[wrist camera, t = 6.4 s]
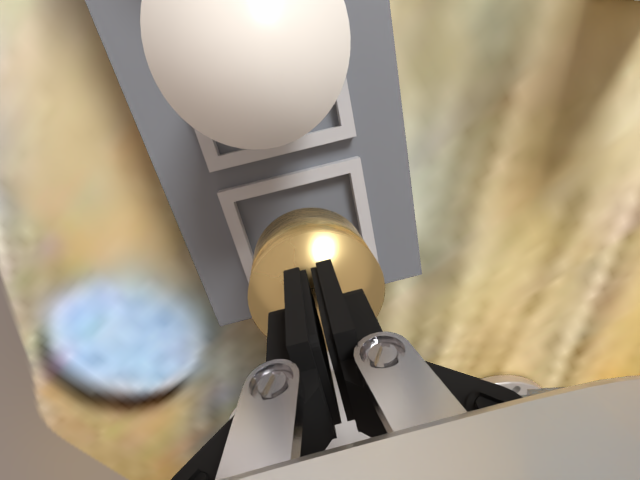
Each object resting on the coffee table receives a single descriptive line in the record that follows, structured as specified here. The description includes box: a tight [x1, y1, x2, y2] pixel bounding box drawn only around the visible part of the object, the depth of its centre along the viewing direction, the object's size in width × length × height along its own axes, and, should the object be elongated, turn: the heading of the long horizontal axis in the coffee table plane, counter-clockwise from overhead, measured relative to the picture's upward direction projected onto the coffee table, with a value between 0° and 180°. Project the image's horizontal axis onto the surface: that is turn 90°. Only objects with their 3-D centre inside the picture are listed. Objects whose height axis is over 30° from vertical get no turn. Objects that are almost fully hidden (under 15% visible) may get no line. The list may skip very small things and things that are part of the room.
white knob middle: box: [140, 0, 351, 150], centre depth 10 cm, size 5×5×4 cm
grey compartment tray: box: [85, 0, 422, 326], centre depth 17 cm, size 24×12×6 cm, turn 13°
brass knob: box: [248, 207, 385, 351], centre depth 13 cm, size 5×5×3 cm
